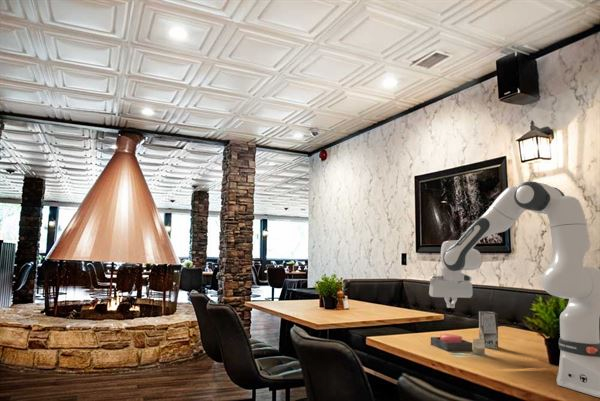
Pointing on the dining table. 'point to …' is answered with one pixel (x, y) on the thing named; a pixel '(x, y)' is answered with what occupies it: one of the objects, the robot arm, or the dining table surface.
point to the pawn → (478, 347)
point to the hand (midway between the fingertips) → (450, 307)
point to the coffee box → (488, 328)
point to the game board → (454, 347)
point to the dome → (451, 338)
